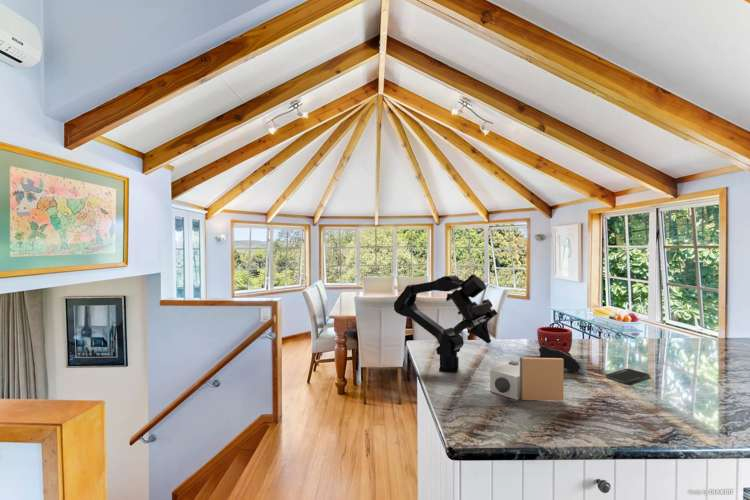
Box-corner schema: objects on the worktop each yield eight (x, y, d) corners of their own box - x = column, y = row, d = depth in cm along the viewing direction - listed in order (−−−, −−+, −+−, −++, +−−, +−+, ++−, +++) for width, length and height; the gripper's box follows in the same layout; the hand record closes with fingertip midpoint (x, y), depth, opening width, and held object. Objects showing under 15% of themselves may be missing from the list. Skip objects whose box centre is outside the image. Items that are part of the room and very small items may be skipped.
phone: (604, 375, 127) (627, 368, 134) (604, 378, 127) (627, 371, 134) (628, 382, 120) (651, 374, 127) (628, 386, 120) (651, 377, 127)
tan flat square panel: (519, 397, 110) (519, 357, 110) (561, 398, 109) (561, 357, 109) (520, 399, 108) (520, 358, 108) (563, 400, 108) (563, 359, 107)
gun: (573, 388, 132) (586, 365, 131) (531, 365, 135) (544, 342, 134) (570, 385, 135) (583, 362, 134) (529, 363, 137) (542, 340, 136)
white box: (488, 392, 115) (488, 368, 115) (510, 379, 125) (510, 358, 125) (515, 401, 109) (515, 376, 108) (536, 387, 119) (536, 364, 119)
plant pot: (573, 355, 152) (573, 327, 152) (570, 364, 141) (570, 334, 141) (539, 351, 159) (539, 324, 159) (535, 359, 148) (535, 330, 148)
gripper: (459, 300, 120) (486, 341, 114) (493, 287, 131) (520, 324, 124) (442, 315, 128) (467, 355, 122) (476, 302, 139) (500, 338, 132)
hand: (489, 342), depth 125 cm, fingers closed
